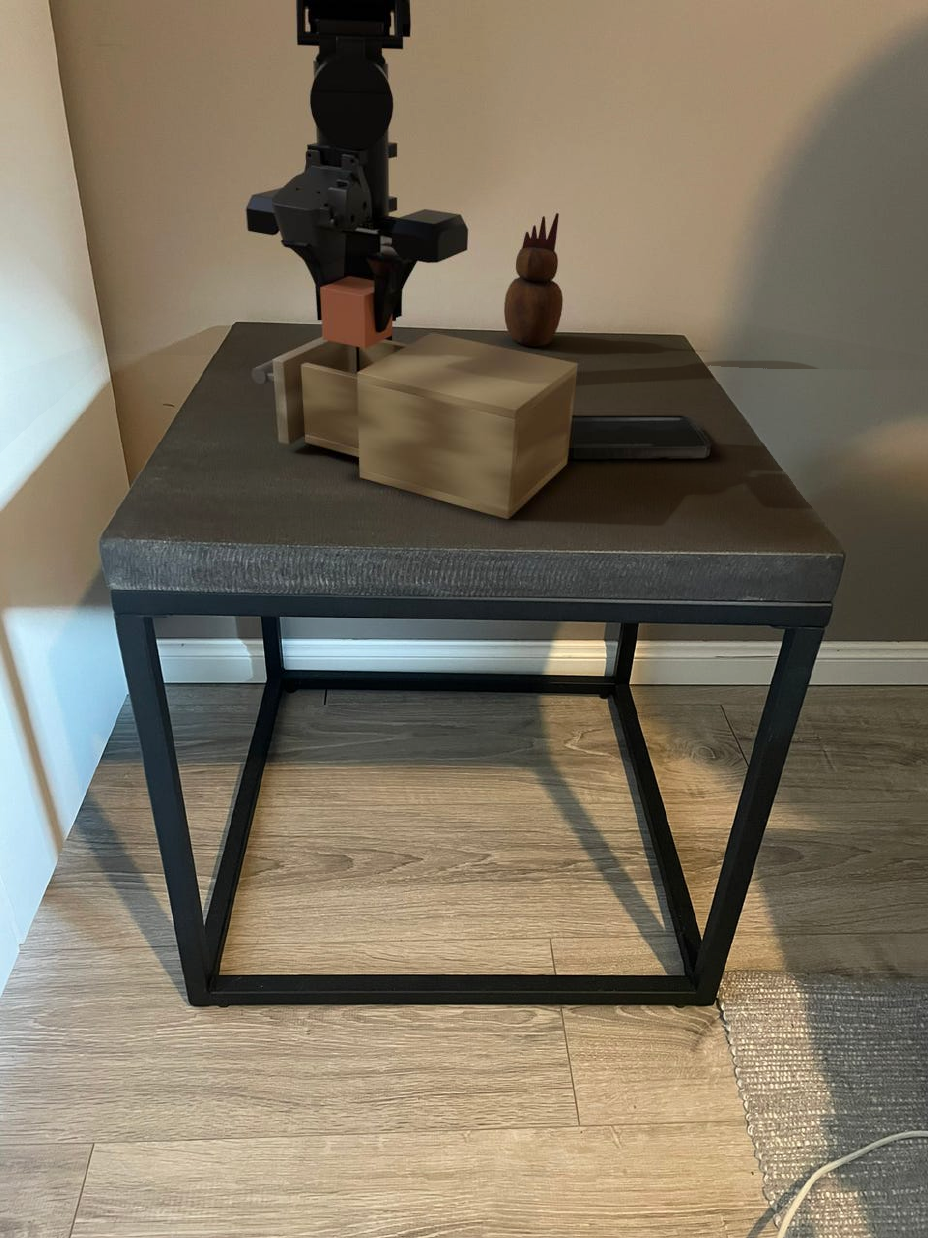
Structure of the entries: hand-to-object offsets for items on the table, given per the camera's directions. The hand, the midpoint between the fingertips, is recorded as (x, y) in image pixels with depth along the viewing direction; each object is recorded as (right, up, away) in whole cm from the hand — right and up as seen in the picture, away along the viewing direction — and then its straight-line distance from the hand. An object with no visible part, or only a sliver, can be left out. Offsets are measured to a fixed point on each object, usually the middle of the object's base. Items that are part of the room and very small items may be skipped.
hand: (357, 326), depth 84 cm
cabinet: (+10, -12, +2) cm, 16 cm away
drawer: (-1, -8, +6) cm, 10 cm away
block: (0, -1, +1) cm, 1 cm away
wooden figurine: (+18, +8, +32) cm, 38 cm away
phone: (+25, -9, +8) cm, 28 cm away
